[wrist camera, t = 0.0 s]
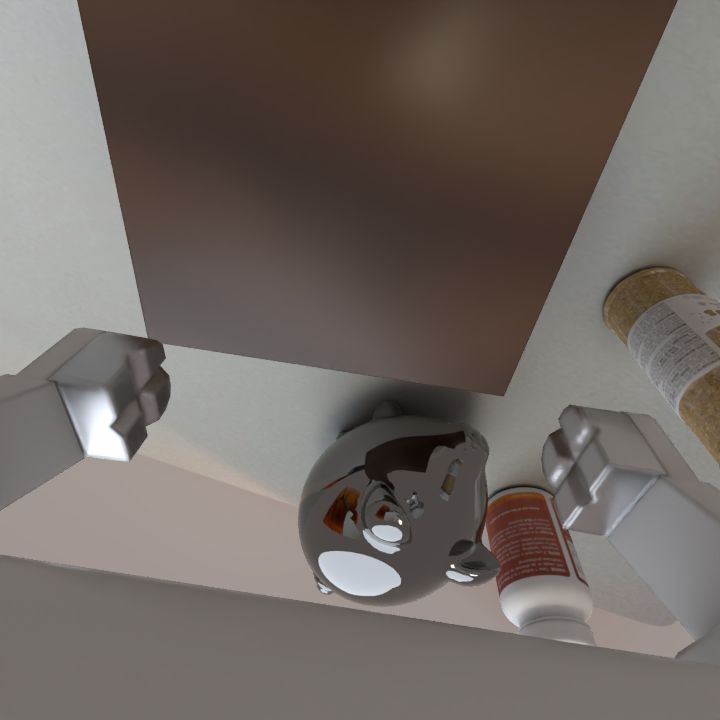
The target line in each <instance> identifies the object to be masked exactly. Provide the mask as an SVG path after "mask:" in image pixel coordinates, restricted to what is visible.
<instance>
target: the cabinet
mask: <svg viewBox="0 0 720 720" xmlns="http://www.w3.org/2000/svg"><path fill="white" fill-rule="evenodd" d="M77 2H78V6H79V11H80V16H81V21H82V25H83V30H84V35H85V40H86V44H87V49H88V54H89V59H90V64H91V68H92V73H93V78H94V83H95V87H96V92H97V97H98V102H99V106H100V111H101V116H102V121H103V126H104V130H105V135H106V140H107V145H108V149H109V154H110V159H111V164H112V168H113V173H114V178H115V183H116V188H117V192H118V197H119V202H120V207H121V211H122V216H123V221H124V226H125V230H126V235H127V240H128V245H129V250H130V254H131V259H132V264H133V269H134V273H135V278H136V283H137V288H138V292H139V297H140V302H141V307H142V312H143V316H144V321H145V326H146V331H147V335H148V339H154V340H158V341H159V342H160V343H163V344H170V345H176V346H183V347H189V348H196V349H202V350H209V351H215V352H221V353H228V354H234V355H241V356H247V357H254V358H260V359H266V360H273V361H279V362H286V363H292V364H299V365H305V366H312V367H318V368H324V369H331V370H337V371H344V372H350V373H357V374H363V375H369V376H376V377H382V378H389V379H395V380H402V381H408V382H415V383H421V384H427V385H434V386H440V387H447V388H453V389H460V390H466V391H473V392H479V393H485V394H492V395H498V396H504V394H505V392H506V390H507V387H508V385H509V383H510V381H511V378H512V376H513V374H514V372H515V369H516V367H517V365H518V362H519V360H520V358H521V356H522V353H523V351H524V349H525V346H526V344H527V342H528V340H529V337H530V335H531V333H532V331H533V328H534V326H535V324H536V321H537V319H538V317H539V315H540V312H541V310H542V308H543V305H544V303H545V301H546V299H547V296H548V294H549V292H550V290H551V287H552V285H553V283H554V280H555V278H556V276H557V274H558V271H559V269H560V267H561V264H562V262H563V260H564V258H565V255H566V253H567V251H568V249H569V246H570V244H571V242H572V239H573V237H574V235H575V233H576V230H577V228H578V226H579V223H580V221H581V219H582V217H583V214H584V212H585V210H586V208H587V205H588V203H589V201H590V198H591V196H592V194H593V192H594V189H595V187H596V185H597V183H598V180H599V178H600V176H601V173H602V171H603V169H604V167H605V164H606V162H607V160H608V157H609V155H610V153H611V151H612V148H613V146H614V144H615V142H616V139H617V137H618V135H619V132H620V130H621V128H622V126H623V123H624V121H625V119H626V116H627V114H628V112H629V110H630V107H631V105H632V103H633V101H634V98H635V96H636V94H637V91H638V89H639V87H640V85H641V82H642V80H643V78H644V75H645V73H646V71H647V69H648V66H649V64H650V62H651V60H652V57H653V55H654V53H655V50H656V48H657V46H658V44H659V41H660V39H661V37H662V34H663V32H664V30H665V28H666V25H667V23H668V21H669V19H670V16H671V14H672V12H673V9H674V7H675V5H676V3H677V0H77Z"/></svg>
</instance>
